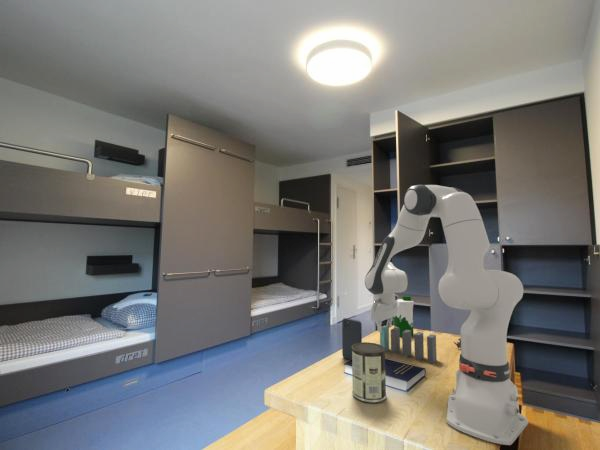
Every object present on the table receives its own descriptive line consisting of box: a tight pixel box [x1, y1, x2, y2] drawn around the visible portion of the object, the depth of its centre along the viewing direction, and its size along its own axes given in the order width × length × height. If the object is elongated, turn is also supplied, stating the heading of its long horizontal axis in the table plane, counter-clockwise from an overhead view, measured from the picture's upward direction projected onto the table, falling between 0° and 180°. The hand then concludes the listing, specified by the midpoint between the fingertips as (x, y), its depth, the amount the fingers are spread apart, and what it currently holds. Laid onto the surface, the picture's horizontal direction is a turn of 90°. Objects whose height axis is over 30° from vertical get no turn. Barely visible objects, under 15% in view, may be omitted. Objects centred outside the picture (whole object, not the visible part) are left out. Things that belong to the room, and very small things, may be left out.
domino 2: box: [390, 327, 401, 356], centre depth 127 cm, size 2×5×10 cm, turn 140°
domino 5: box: [426, 333, 437, 365], centre depth 118 cm, size 2×5×10 cm, turn 140°
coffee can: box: [351, 341, 387, 403], centre depth 91 cm, size 10×10×14 cm
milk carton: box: [393, 295, 415, 338], centre depth 154 cm, size 9×9×20 cm
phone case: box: [341, 317, 363, 361], centre depth 119 cm, size 9×2×16 cm, turn 46°
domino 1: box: [379, 325, 390, 352], centre depth 131 cm, size 2×5×10 cm, turn 140°
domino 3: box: [401, 330, 413, 359], centre depth 124 cm, size 2×5×10 cm, turn 140°
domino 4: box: [413, 331, 425, 362], centre depth 121 cm, size 2×5×10 cm, turn 140°
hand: (384, 329), depth 131 cm, fingers open, 8 cm apart
